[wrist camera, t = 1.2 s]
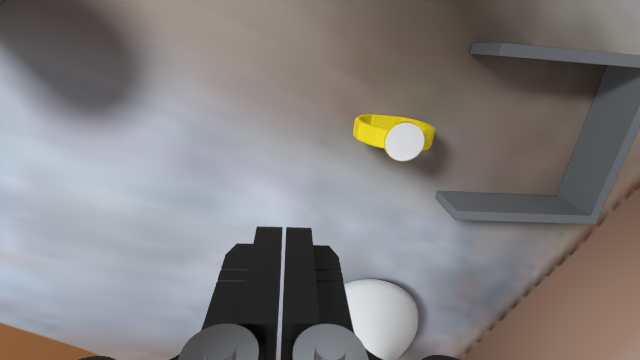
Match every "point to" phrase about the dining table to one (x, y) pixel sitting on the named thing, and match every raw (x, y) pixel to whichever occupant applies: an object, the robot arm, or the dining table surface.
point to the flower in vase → (382, 316)
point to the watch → (394, 134)
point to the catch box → (589, 154)
